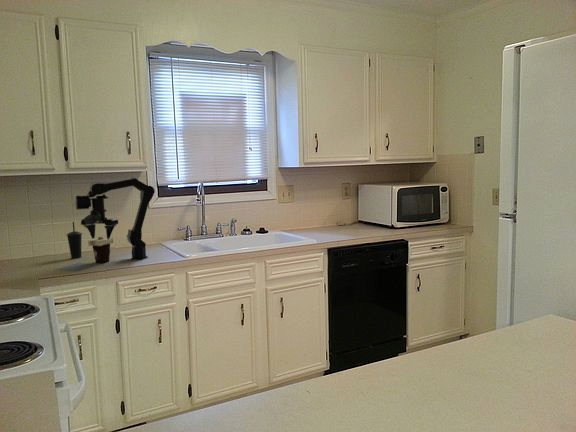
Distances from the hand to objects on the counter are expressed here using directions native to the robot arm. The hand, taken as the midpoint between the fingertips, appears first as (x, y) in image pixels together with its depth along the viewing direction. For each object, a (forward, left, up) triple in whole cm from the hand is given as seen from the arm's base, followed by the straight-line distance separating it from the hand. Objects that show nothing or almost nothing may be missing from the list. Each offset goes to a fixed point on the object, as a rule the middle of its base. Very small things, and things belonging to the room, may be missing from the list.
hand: (100, 238), depth 241 cm
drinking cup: (+24, -8, -13) cm, 28 cm away
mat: (+6, +11, -13) cm, 18 cm away
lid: (0, 0, -3) cm, 3 cm away
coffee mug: (0, 0, -13) cm, 13 cm away
